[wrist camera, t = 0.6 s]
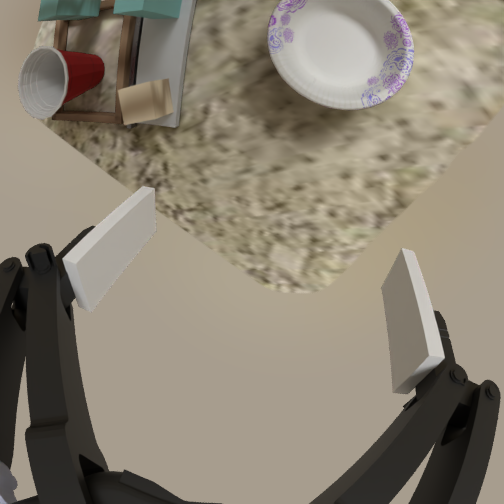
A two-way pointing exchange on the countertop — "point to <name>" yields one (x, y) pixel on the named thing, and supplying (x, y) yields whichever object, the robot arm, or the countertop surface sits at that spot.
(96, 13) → the frame
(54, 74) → the plastic cup
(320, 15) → the paper bowls
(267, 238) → the countertop surface
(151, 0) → the sled
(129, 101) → the beech cube
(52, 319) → the robot arm
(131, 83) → the divider rail
